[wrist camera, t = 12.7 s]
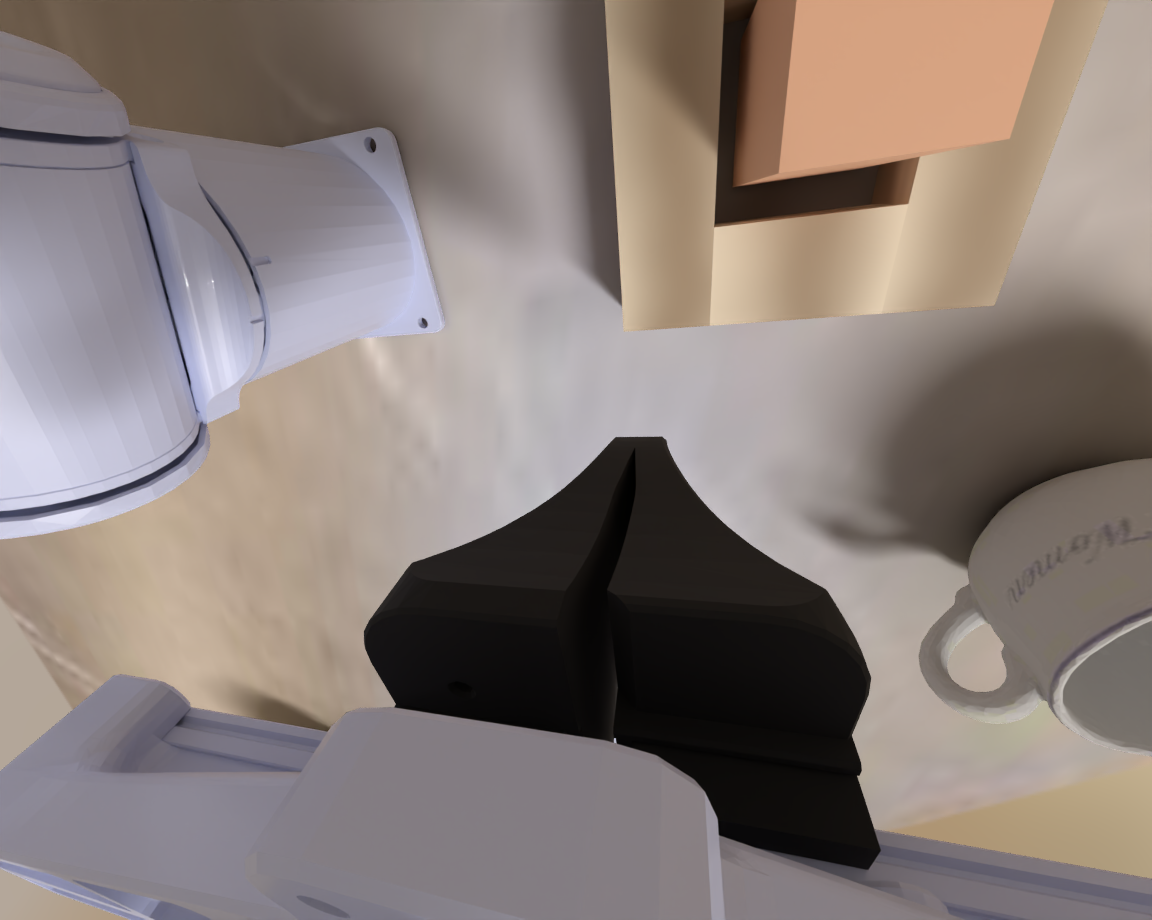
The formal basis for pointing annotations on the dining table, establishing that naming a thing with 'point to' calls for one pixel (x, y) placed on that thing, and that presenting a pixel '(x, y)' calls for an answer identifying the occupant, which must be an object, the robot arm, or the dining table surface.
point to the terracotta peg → (878, 81)
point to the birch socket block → (805, 187)
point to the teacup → (1063, 607)
